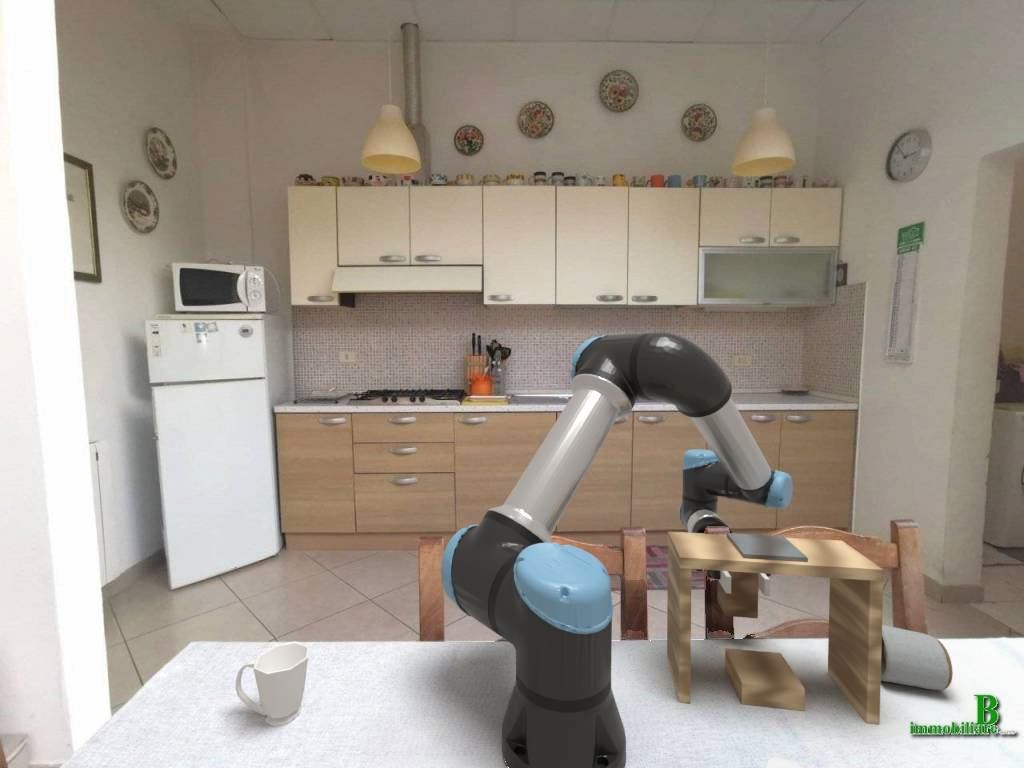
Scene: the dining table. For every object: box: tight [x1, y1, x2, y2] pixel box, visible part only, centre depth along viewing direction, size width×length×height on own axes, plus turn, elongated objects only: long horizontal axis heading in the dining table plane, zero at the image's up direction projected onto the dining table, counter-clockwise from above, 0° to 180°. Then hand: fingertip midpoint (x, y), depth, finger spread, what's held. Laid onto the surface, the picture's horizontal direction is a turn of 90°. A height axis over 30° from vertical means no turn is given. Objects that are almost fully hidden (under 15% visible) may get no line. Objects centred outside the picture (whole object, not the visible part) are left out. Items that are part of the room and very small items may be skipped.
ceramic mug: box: [881, 624, 954, 691], centre depth 70 cm, size 11×8×8 cm
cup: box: [234, 640, 311, 728], centre depth 62 cm, size 7×10×8 cm
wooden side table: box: [666, 531, 885, 725], centre depth 67 cm, size 25×10×21 cm, turn 80°
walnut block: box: [716, 534, 759, 619], centre depth 78 cm, size 5×5×12 cm
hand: (747, 586), depth 73 cm, fingers closed on walnut block, 5 cm apart
